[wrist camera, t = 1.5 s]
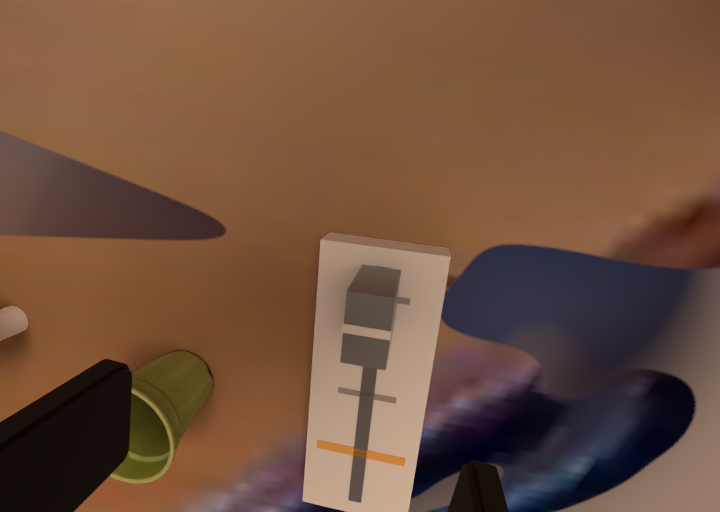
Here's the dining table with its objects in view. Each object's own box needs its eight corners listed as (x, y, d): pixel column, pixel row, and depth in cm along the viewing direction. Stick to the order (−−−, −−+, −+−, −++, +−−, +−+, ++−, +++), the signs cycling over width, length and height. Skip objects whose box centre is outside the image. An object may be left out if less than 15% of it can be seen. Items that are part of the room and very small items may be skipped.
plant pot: (137, 391, 40) (61, 452, 32) (156, 319, 37) (79, 364, 29) (214, 429, 39) (158, 501, 31) (239, 359, 37) (185, 417, 28)
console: (448, 247, 30) (450, 257, 28) (407, 497, 37) (406, 526, 34) (329, 232, 32) (320, 239, 29) (311, 475, 39) (302, 502, 36)
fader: (401, 270, 28) (395, 299, 22) (394, 329, 30) (386, 371, 24) (361, 264, 29) (345, 291, 23) (355, 323, 30) (339, 362, 24)
